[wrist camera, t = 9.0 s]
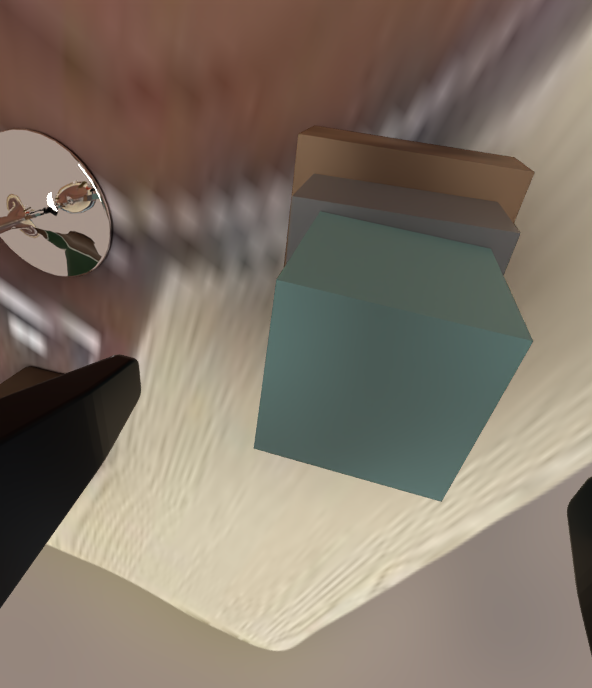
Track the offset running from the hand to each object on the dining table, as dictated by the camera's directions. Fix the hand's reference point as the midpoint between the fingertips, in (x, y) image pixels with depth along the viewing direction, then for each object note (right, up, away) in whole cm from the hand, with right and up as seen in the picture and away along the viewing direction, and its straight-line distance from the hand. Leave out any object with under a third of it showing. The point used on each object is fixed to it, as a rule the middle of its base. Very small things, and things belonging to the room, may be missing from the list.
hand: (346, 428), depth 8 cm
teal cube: (+2, +3, +5) cm, 6 cm away
